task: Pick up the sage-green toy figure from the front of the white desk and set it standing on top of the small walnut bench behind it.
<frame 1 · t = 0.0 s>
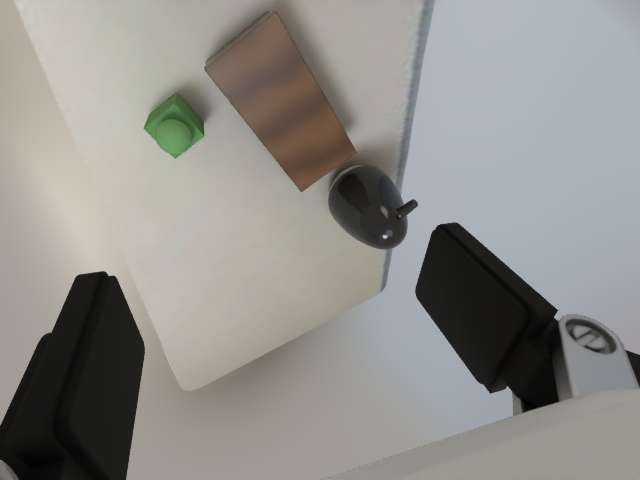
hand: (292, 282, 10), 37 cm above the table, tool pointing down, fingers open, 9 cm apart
bench: (280, 103, 43), on the table
green toy: (176, 119, 40), on the table
pump dispenser: (351, 185, 53), on the table
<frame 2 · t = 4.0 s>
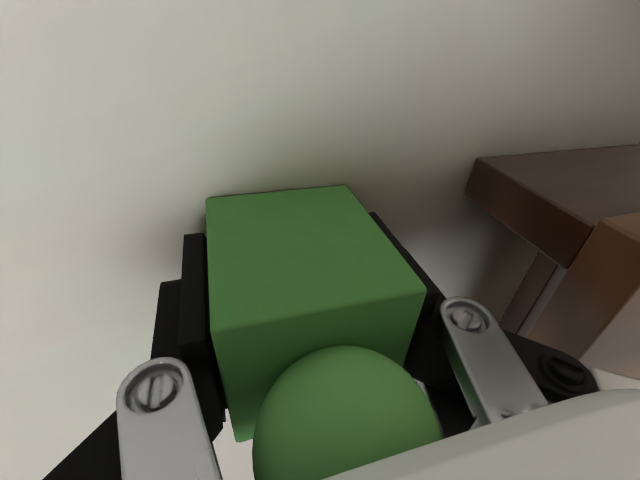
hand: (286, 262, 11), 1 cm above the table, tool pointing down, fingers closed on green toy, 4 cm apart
bench: (493, 306, 18), on the table
green toy: (281, 247, 11), on the table, touching gripper
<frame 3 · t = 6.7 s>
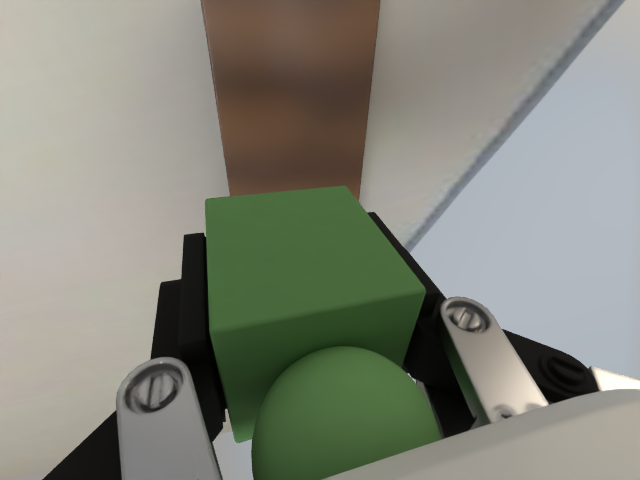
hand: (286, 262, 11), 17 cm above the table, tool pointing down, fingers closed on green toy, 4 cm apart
bench: (280, 135, 26), on the table
green toy: (280, 247, 11), point 16 cm above the table, touching gripper
when the fingers open (7 cm above the table, at t = 9.8 s): green toy stays where it is, resting on bench.
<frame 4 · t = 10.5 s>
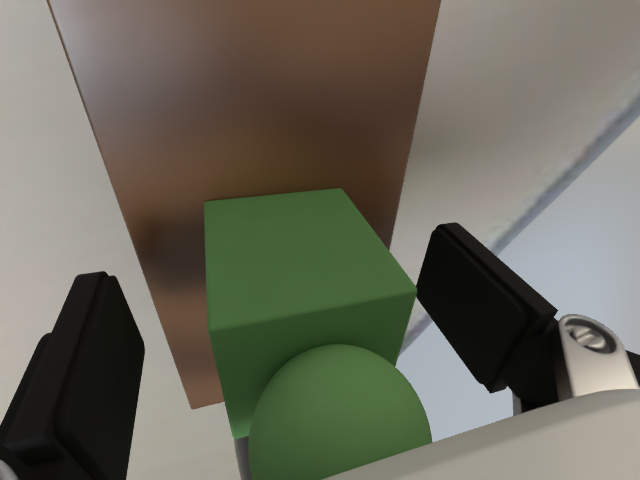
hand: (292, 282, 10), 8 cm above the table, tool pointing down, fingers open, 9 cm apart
bench: (256, 174, 16), on the table
green toy: (278, 248, 12), point 6 cm above the table, touching bench
pump dispenser: (295, 366, 27), on the table
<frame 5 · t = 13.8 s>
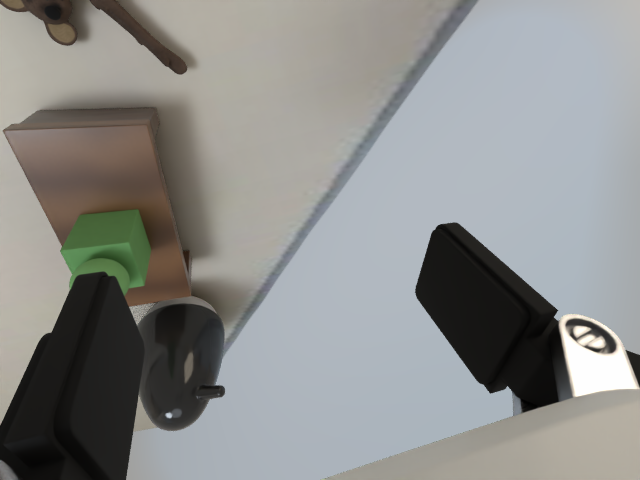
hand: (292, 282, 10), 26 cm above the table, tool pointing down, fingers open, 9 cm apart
bench: (128, 199, 33), on the table
green toy: (117, 233, 29), point 6 cm above the table, touching bench
pump dispenser: (183, 310, 44), on the table
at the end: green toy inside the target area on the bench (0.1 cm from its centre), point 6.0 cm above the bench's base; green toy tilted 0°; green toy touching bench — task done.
